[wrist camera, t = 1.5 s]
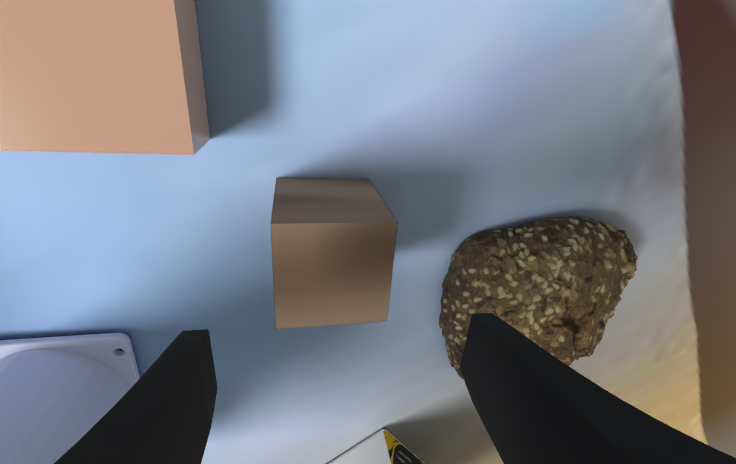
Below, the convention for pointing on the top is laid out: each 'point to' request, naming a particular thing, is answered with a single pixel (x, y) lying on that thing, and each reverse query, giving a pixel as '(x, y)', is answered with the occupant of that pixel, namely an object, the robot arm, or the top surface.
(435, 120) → the top surface
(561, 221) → the bread roll
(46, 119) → the terracotta tile
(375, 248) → the walnut block
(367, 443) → the medicine bottle
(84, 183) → the top surface
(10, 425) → the robot arm
